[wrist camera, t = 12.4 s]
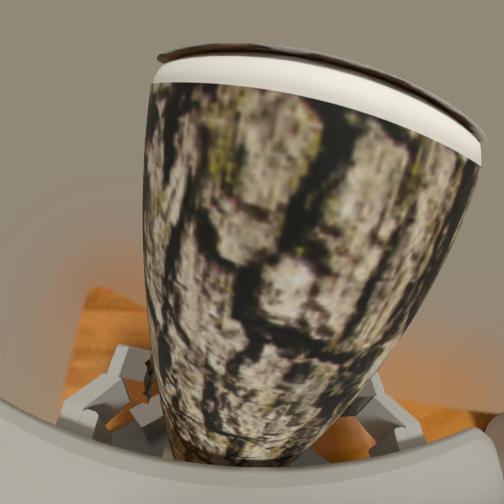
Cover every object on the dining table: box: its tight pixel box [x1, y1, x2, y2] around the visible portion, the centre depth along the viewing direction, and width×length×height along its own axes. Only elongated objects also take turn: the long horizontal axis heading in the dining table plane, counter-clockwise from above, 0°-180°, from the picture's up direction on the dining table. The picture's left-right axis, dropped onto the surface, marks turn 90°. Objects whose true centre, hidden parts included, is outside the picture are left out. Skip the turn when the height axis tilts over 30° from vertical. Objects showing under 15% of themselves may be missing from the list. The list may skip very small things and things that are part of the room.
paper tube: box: [143, 43, 487, 467], centre depth 11 cm, size 7×7×25 cm
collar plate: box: [110, 394, 332, 467], centre depth 18 cm, size 16×14×4 cm
